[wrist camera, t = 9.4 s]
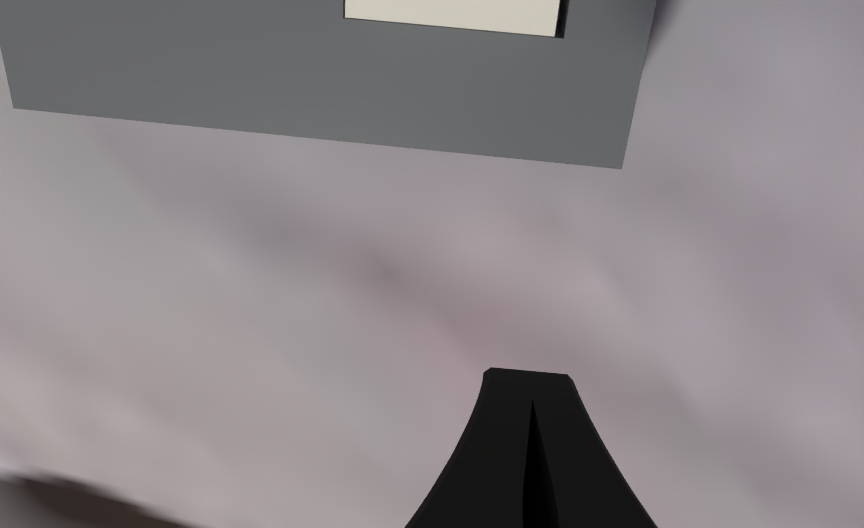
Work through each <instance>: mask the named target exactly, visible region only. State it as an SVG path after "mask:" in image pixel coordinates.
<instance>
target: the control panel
mask: <svg viewBox="0 0 864 528" xmlns="http://www.w3.org/2000/svg"><path fill="white" fill-rule="evenodd" d="M656 2H657V0H560V2H559V9H558V16H557V22H556V29H555V36H554V37H553V36H542V35H531V34H520V33H509V32H499V31H488V30H477V29H466V28H455V27H444V26H433V25H422V24H412V23H401V22H390V21H379V20H368V19H357V18H346V17H345V0H0V47H1V51H2V56H3V61H4V65H5V70H6V75H7V80H8V84H9V89H10V94H11V98H12V103H13V108H17V109H27V110H37V111H47V112H56V113H66V114H76V115H86V116H96V117H106V118H116V119H126V120H136V121H146V122H156V123H166V124H176V125H186V126H196V127H206V128H216V129H226V130H236V131H246V132H256V133H266V134H276V135H286V136H296V137H306V138H316V139H326V140H336V141H346V142H356V143H366V144H375V145H385V146H395V147H405V148H415V149H425V150H435V151H445V152H455V153H465V154H475V155H485V156H495V157H505V158H515V159H525V160H535V161H545V162H555V163H565V164H575V165H585V166H595V167H605V168H615V169H622V165H623V160H624V156H625V151H626V146H627V141H628V136H629V132H630V127H631V122H632V117H633V112H634V108H635V103H636V98H637V93H638V88H639V84H640V79H641V74H642V69H643V64H644V60H645V55H646V50H647V45H648V40H649V36H650V31H651V26H652V21H653V17H654V12H655V7H656Z"/></svg>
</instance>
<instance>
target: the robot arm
mask: <svg viewBox="0 0 864 528" xmlns="http://www.w3.org/2000/svg"><path fill="white" fill-rule="evenodd" d="M405 528H658V527H657V526H656V524H655V523H654V522H653V520H652V519H651V518H650V516H649V515H648V513H647V512H646V510H645V509H644V507H643V506H642V504H641V503H640V501H639V500H638V499H637V497H636V496H635V494H634V493H633V491H632V490H631V488H630V486H629V485H628V483H627V482H626V480H625V479H624V477H623V475H622V474H621V472H620V470H619V469H618V467H617V465H616V464H615V462H614V460H613V459H612V457H611V455H610V454H609V452H608V450H607V449H606V447H605V445H604V443H603V441H602V440H601V438H600V436H599V434H598V432H597V430H596V428H595V427H594V425H593V423H592V421H591V419H590V417H589V415H588V413H587V411H586V409H585V407H584V405H583V403H582V400H581V398H580V396H579V394H578V391H577V389H576V387H575V384H574V381H573V380H572V379H571V378H570V377H569V376H568V374H557V373H547V372H536V371H525V370H514V369H503V368H492V367H491V368H490V369H488V370H487V371H485V372H484V374H483V381H482V386H481V389H480V393H479V396H478V399H477V402H476V405H475V407H474V409H473V412H472V414H471V417H470V419H469V421H468V424H467V426H466V428H465V430H464V432H463V434H462V436H461V438H460V440H459V442H458V444H457V446H456V448H455V450H454V452H453V454H452V455H451V457H450V459H449V461H448V462H447V464H446V466H445V467H444V469H443V471H442V472H441V474H440V476H439V477H438V479H437V481H436V482H435V484H434V486H433V487H432V489H431V491H430V492H429V494H428V495H427V497H426V498H425V500H424V501H423V503H422V504H421V506H420V507H419V508H418V510H417V511H416V513H415V514H414V516H413V517H412V518H411V520H410V521H409V522H408V524H407V525H406V526H405Z"/></svg>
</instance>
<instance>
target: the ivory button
mask: <svg viewBox="0 0 864 528" xmlns="http://www.w3.org/2000/svg"><path fill="white" fill-rule="evenodd" d="M559 2H560V0H345V17H346V18H357V19H368V20H379V21H390V22H401V23H412V24H422V25H433V26H444V27H455V28H466V29H477V30H488V31H499V32H509V33H520V34H531V35H542V36H553V37H554V36H555V29H556V22H557V16H558V9H559Z"/></svg>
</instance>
